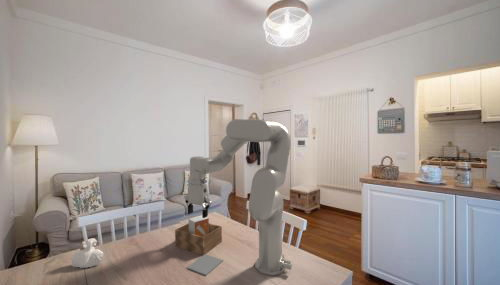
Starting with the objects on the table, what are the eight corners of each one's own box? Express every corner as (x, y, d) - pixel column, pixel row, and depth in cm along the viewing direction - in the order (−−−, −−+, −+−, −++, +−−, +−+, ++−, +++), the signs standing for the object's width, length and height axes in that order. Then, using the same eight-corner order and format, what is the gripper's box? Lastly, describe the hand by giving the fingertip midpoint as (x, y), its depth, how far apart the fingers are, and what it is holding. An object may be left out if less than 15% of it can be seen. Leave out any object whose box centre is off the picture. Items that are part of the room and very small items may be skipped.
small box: (194, 249, 102) (194, 222, 102) (188, 244, 107) (188, 218, 107) (209, 243, 108) (209, 217, 108) (202, 239, 113) (202, 214, 112)
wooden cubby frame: (221, 241, 109) (221, 226, 109) (203, 255, 97) (203, 238, 97) (195, 234, 118) (195, 220, 118) (175, 245, 106) (175, 229, 105)
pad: (222, 261, 92) (222, 260, 92) (206, 275, 83) (206, 274, 83) (205, 255, 97) (205, 254, 97) (187, 268, 88) (187, 267, 88)
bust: (104, 267, 92) (111, 239, 99) (96, 265, 86) (104, 235, 93) (73, 270, 91) (83, 241, 97) (63, 268, 84) (74, 237, 91)
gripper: (216, 182, 106) (216, 216, 106) (190, 178, 114) (190, 209, 115) (206, 185, 99) (206, 221, 100) (179, 180, 107) (179, 214, 108)
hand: (197, 215), depth 107 cm, fingers open, 9 cm apart
